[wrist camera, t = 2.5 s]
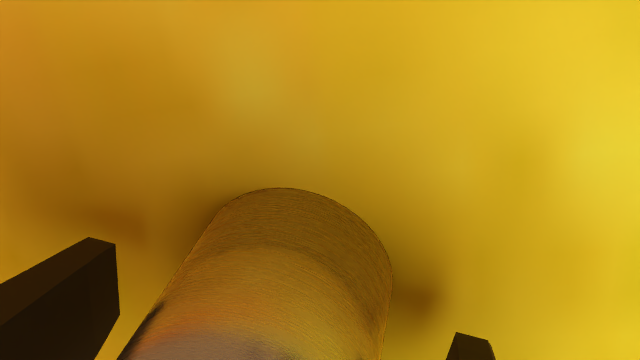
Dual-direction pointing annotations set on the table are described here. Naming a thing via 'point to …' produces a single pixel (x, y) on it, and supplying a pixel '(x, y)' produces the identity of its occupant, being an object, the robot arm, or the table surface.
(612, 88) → the table surface
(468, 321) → the table surface
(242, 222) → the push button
